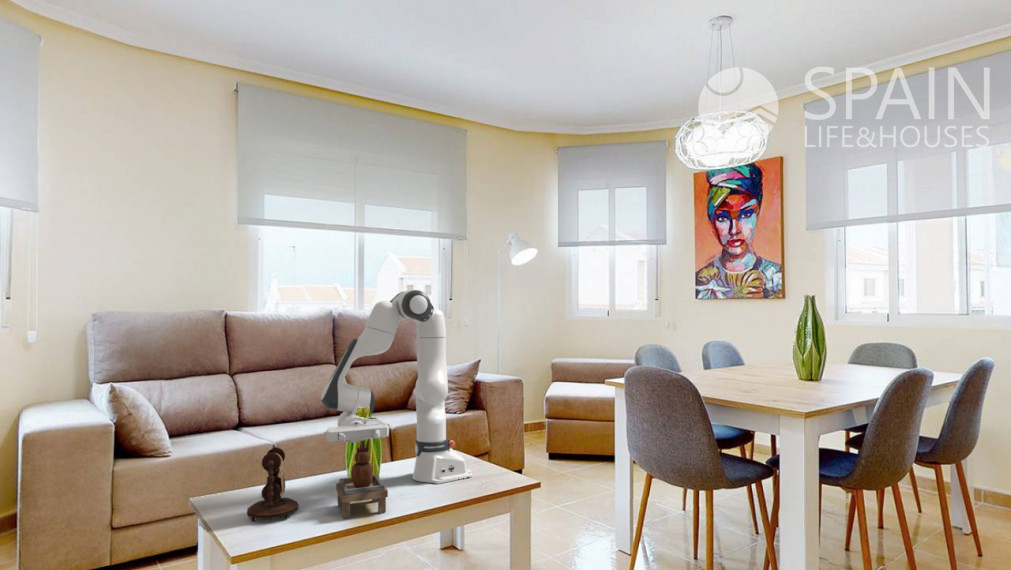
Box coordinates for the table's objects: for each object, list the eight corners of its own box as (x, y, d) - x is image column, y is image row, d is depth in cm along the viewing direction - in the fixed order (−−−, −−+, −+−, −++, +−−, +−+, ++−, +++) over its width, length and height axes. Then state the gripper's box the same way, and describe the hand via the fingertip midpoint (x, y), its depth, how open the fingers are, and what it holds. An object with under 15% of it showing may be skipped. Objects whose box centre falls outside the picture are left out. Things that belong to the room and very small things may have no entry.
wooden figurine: (375, 484, 186) (375, 437, 187) (369, 489, 181) (369, 441, 181) (355, 483, 187) (355, 437, 188) (348, 489, 182) (349, 441, 182)
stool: (379, 499, 193) (379, 473, 193) (387, 513, 180) (387, 485, 180) (335, 505, 187) (336, 478, 187) (341, 519, 174) (341, 491, 175)
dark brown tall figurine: (294, 521, 173) (294, 454, 174) (241, 525, 170) (242, 457, 171) (301, 505, 187) (302, 443, 188) (253, 508, 184) (253, 445, 185)
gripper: (323, 422, 194) (327, 430, 181) (383, 417, 202) (392, 424, 189) (323, 441, 194) (327, 450, 181) (383, 435, 202) (392, 444, 189)
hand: (361, 437), depth 185 cm, fingers open, 8 cm apart
